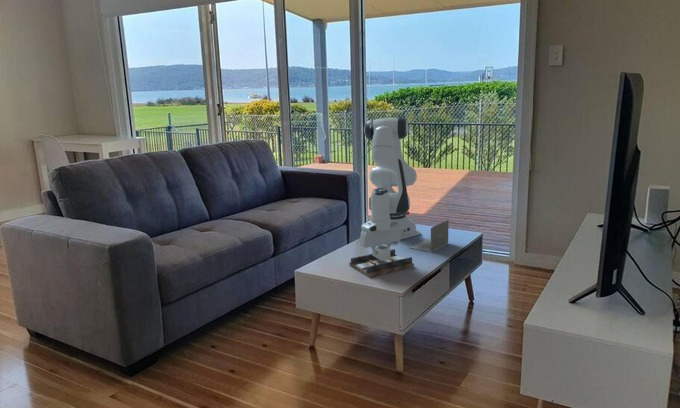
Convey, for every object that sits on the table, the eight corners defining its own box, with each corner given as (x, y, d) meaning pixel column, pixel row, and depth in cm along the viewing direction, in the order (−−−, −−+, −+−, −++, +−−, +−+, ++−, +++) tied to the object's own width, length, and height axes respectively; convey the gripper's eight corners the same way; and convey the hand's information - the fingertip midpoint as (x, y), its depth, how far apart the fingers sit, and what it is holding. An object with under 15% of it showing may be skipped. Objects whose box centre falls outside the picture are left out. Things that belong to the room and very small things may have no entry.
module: (380, 253, 235) (380, 243, 234) (390, 259, 227) (390, 248, 226) (372, 255, 234) (372, 244, 232) (381, 260, 226) (381, 249, 224)
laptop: (427, 240, 269) (427, 216, 266) (448, 243, 261) (448, 219, 258) (409, 248, 256) (409, 224, 253) (431, 253, 248) (431, 227, 245)
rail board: (392, 256, 245) (392, 248, 244) (414, 266, 229) (414, 258, 228) (349, 265, 234) (349, 257, 233) (369, 277, 218) (369, 268, 218)
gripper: (395, 219, 234) (396, 247, 237) (358, 226, 225) (358, 255, 228) (403, 222, 229) (403, 251, 232) (365, 229, 220) (365, 259, 223)
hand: (381, 253), depth 230 cm, fingers closed on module, 5 cm apart
